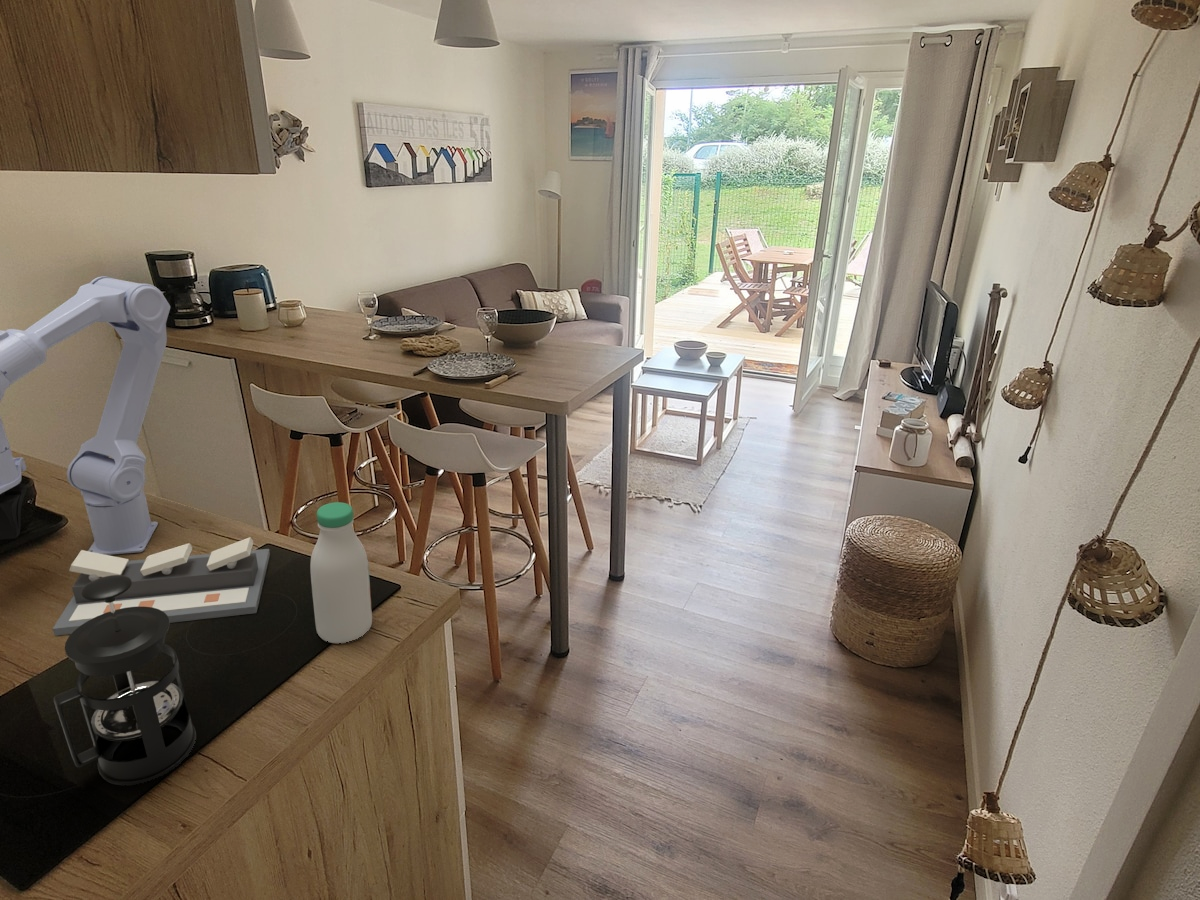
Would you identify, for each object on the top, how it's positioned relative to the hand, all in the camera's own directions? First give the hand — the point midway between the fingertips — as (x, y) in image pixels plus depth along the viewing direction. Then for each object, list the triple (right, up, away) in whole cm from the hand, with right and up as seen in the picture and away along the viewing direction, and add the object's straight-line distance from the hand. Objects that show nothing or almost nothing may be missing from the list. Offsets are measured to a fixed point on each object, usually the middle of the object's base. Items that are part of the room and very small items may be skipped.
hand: (9, 536), depth 95 cm
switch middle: (+20, -5, +5) cm, 21 cm away
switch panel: (+19, -9, +7) cm, 22 cm away
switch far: (+28, -5, +8) cm, 30 cm away
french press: (+33, -22, -20) cm, 44 cm away
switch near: (+11, -6, +2) cm, 13 cm away
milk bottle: (+47, -14, +2) cm, 49 cm away
